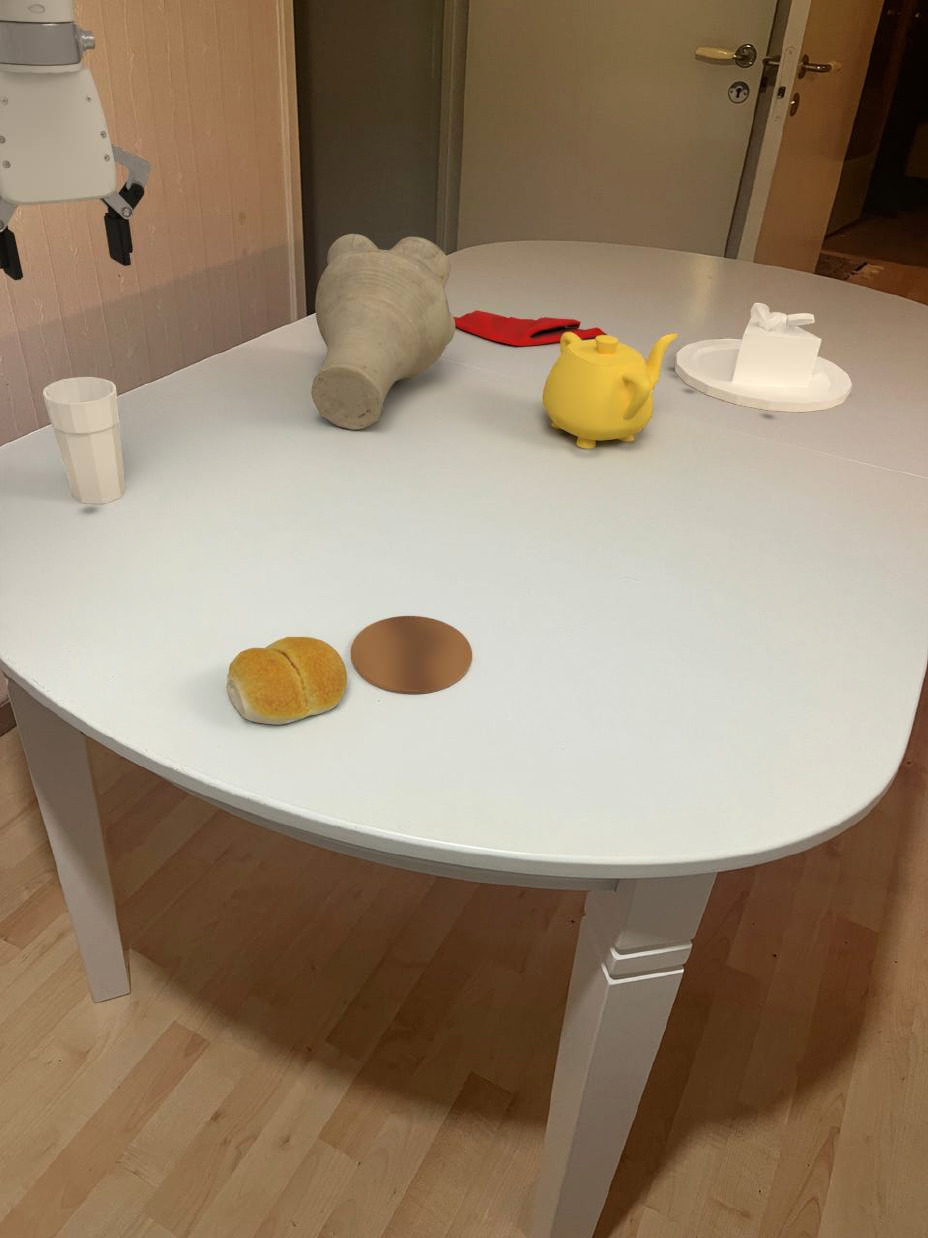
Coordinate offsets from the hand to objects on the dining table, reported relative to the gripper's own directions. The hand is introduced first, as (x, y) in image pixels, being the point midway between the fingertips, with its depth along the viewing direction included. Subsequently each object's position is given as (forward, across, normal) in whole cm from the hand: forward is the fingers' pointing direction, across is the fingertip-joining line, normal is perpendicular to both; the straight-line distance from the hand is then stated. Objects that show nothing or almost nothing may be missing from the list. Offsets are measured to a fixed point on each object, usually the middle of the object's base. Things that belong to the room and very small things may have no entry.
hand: (68, 268), depth 83 cm
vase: (+22, -36, -5) cm, 42 cm away
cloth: (+22, -71, -14) cm, 76 cm away
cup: (+22, +1, +1) cm, 22 cm away
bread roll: (+22, +2, +39) cm, 45 cm away
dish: (+22, -89, +18) cm, 94 cm away
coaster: (+22, -9, +41) cm, 47 cm away
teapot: (+22, -56, +18) cm, 63 cm away
